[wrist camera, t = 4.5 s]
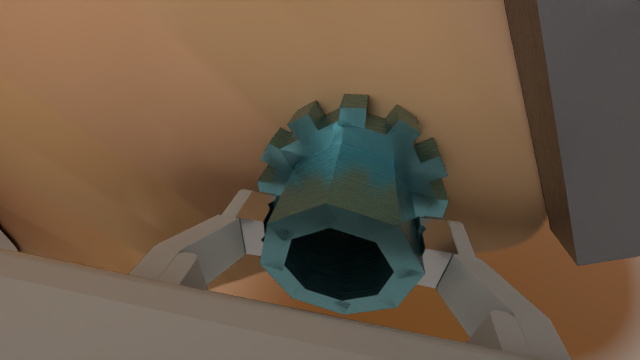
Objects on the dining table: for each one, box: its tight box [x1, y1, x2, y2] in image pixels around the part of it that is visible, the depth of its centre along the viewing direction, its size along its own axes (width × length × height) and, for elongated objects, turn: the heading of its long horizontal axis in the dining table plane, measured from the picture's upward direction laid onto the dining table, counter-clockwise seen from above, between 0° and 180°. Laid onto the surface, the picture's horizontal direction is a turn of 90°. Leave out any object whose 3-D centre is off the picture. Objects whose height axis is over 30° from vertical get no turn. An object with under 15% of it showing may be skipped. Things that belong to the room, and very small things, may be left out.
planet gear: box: [257, 94, 449, 315], centre depth 10 cm, size 8×8×5 cm
